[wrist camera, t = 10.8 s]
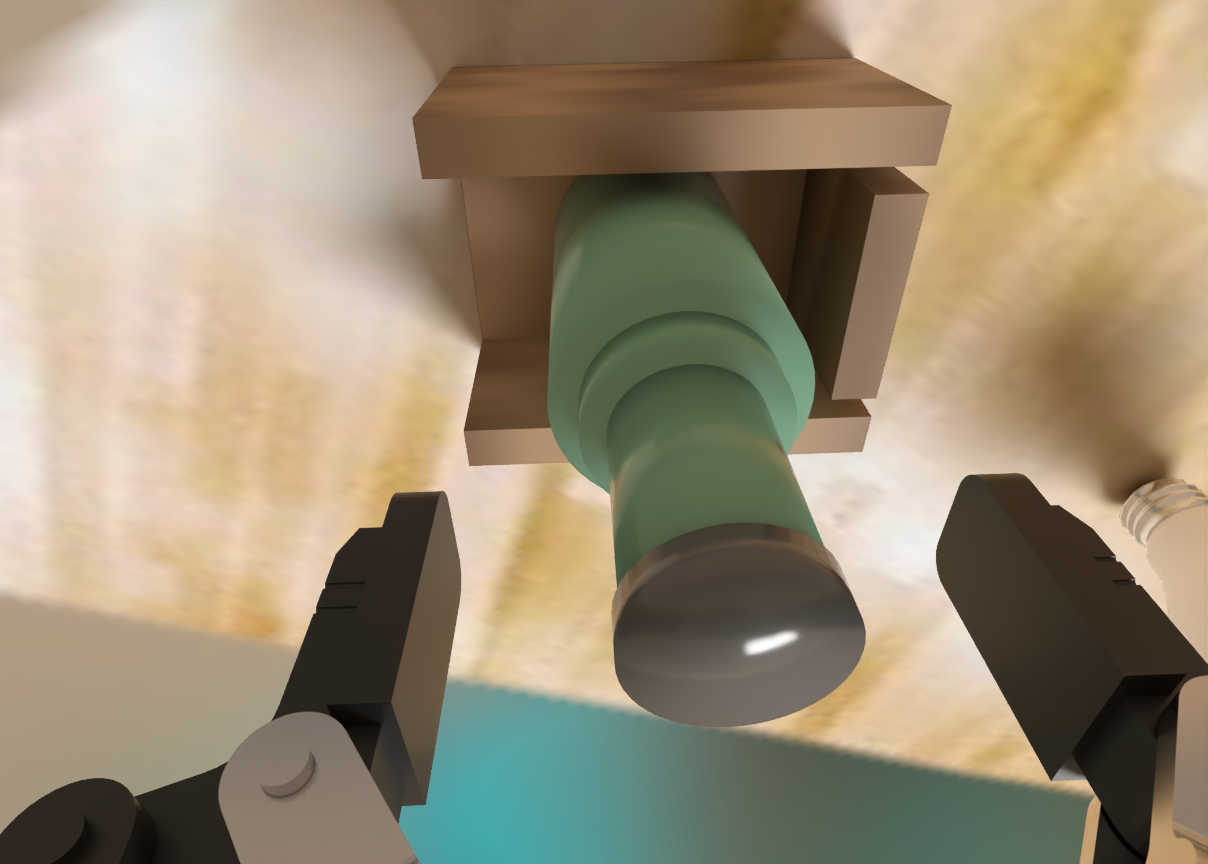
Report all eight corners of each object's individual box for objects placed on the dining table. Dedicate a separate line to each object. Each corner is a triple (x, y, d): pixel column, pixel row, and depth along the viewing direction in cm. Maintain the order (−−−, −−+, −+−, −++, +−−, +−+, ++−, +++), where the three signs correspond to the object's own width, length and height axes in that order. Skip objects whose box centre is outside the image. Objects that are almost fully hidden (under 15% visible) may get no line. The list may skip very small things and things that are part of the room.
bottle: (737, 141, 19) (1005, 497, 8) (721, 312, 23) (893, 756, 11) (549, 146, 19) (518, 515, 7) (559, 317, 22) (548, 772, 10)
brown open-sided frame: (855, 58, 19) (951, 104, 14) (804, 346, 25) (862, 451, 20) (452, 67, 19) (412, 118, 14) (489, 356, 24) (469, 465, 19)
